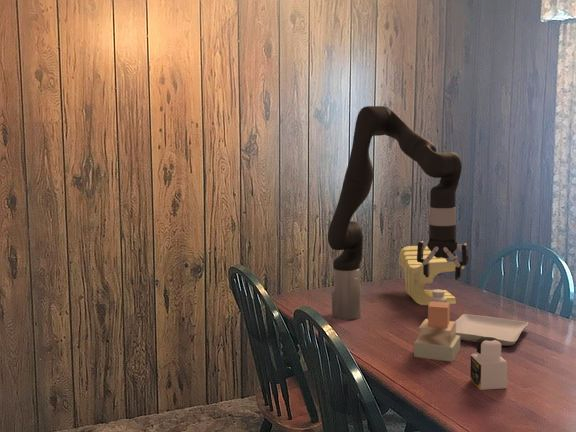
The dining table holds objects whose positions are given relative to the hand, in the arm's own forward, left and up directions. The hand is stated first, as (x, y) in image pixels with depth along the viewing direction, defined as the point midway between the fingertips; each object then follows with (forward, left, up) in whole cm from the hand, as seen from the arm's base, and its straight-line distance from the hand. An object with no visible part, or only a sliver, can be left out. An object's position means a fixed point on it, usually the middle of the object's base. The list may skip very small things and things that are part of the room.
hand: (442, 278), depth 191 cm
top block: (-1, -1, -18) cm, 18 cm away
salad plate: (+10, +20, -23) cm, 32 cm away
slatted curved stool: (-16, +54, -23) cm, 61 cm away
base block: (-1, -1, -23) cm, 23 cm away
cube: (-1, -1, -14) cm, 14 cm away
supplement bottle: (-8, +32, -23) cm, 40 cm away
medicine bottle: (+16, -19, -23) cm, 33 cm away
